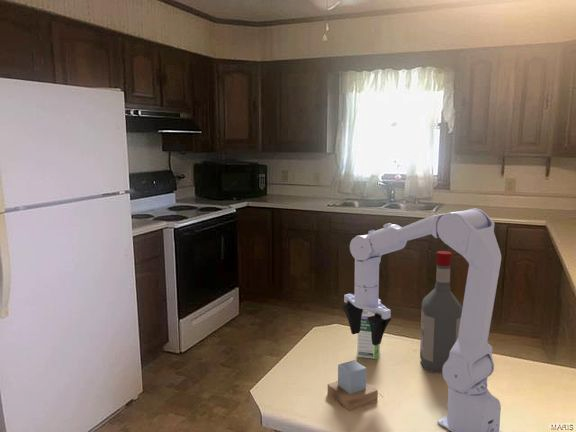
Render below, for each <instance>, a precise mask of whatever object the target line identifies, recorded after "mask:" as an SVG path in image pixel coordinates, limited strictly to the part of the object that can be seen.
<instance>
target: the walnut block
mask: <svg viewBox="0 0 576 432" xmlns="http://www.w3.org/2000/svg"><path fill="white" fill-rule="evenodd" d="M378 392H379V390H378V389H377V388H375V387H374V386H372V385H371V384H369V383H367V382H366V389H364V390H361V391H358V392H355V393H352V394H349V393H348V392H346V391H345V390H343V389H342V388H341V387H339V386H338V380H337V381H332V382H330V383H327V396H329V397H330V398H331V399H333V400H334V401H335V402H337V403H338V404H339V405H341V406H342V407H343V408H345V409H346V410H347V411H348V412H351V411H354V410H357V409H359V408H362V407H364V406H367V405H369V404H372V403H376V402H378V397H379V394H378Z"/></svg>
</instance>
